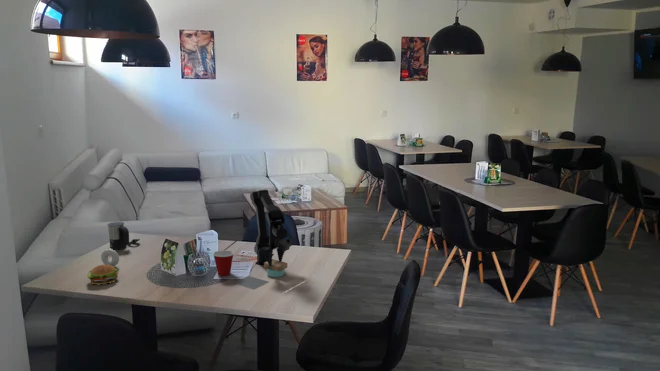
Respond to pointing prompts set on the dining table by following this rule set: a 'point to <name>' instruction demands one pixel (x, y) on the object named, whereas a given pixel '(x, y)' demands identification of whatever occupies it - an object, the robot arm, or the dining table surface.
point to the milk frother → (119, 235)
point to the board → (276, 265)
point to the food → (103, 274)
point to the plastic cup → (223, 262)
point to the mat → (251, 282)
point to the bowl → (275, 273)
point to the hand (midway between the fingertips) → (275, 263)
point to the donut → (113, 254)
